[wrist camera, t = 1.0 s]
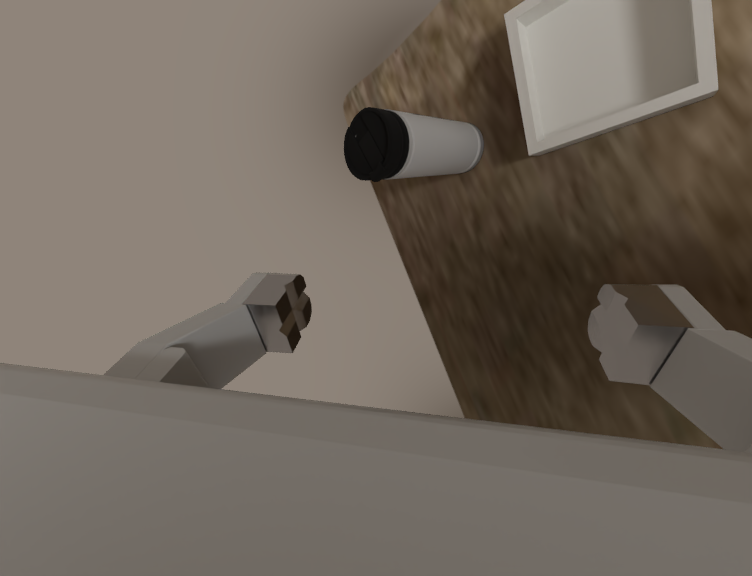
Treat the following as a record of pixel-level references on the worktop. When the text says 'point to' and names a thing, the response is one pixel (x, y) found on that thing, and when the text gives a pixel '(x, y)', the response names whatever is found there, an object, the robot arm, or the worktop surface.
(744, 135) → the worktop surface
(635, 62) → the tray
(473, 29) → the worktop surface
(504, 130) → the worktop surface
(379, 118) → the travel mug
